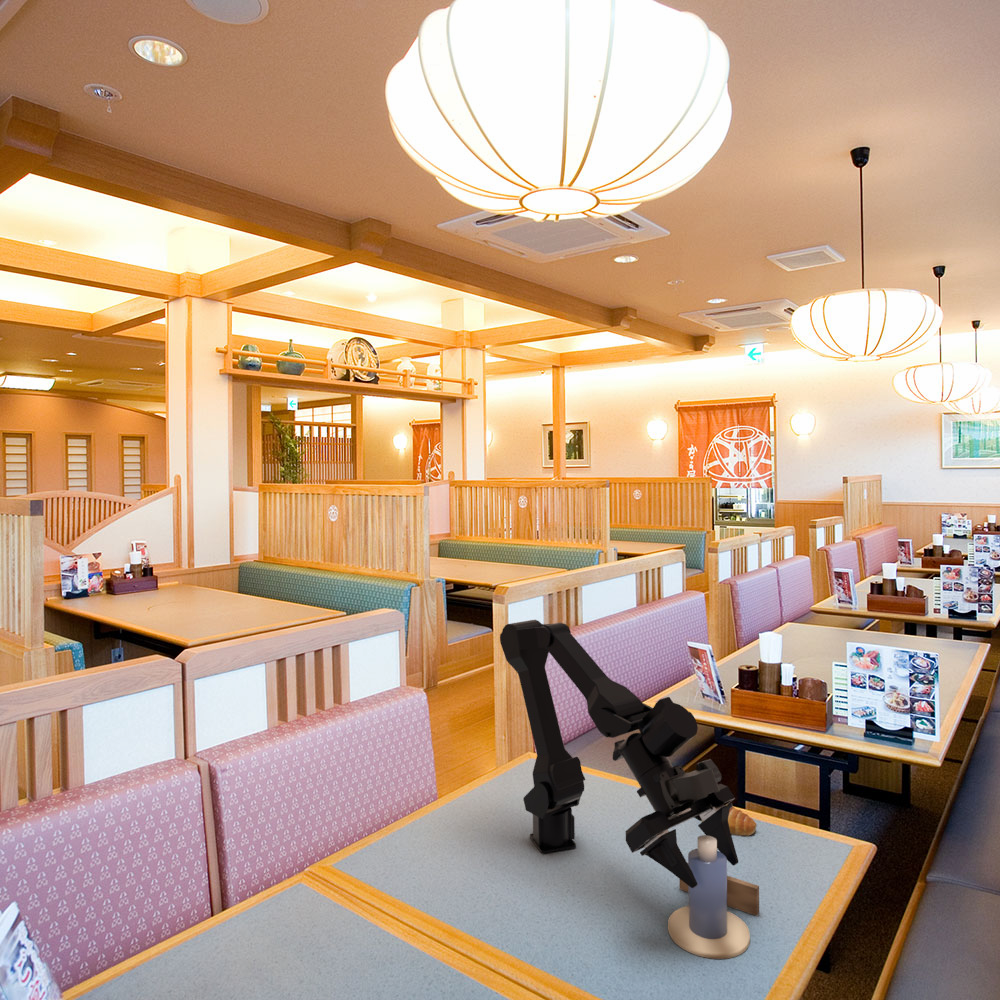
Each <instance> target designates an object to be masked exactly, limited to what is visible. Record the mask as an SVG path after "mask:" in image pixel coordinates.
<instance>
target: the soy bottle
mask: <svg viewBox="0 0 1000 1000" xmlns="http://www.w3.org/2000/svg"><path fill="white" fill-rule="evenodd" d="M687 855H688V856H687V860H688V861H687V863H688V865H689V867H690V869H691V871H692V872H693V874H694V877H695V879H696V881H697V884H698V885H697V886H696V887H694V888H691V887H690V886H689V892H688V906H689V927H690V929H691V931H692V932H693V933H695V934H696V935H698V936H700V937H703V938H707V939H719V938H722V937H724V936H725V935H726V934H727V911H728V906H727V876H728V865H727V864H728V863H727V862H728V860H727V859H726V856H725V855H724V854H722V853H721V852H720V851H719V850H718V849H717V840H716V839H715V838H714V837H712V836H708V835H705V834H702V835H699V836H698V837H697V848H694V849H691V850H690V851H689V852H688V854H687Z"/></svg>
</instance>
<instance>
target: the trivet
mask: <svg viewBox="0 0 1000 1000" xmlns="http://www.w3.org/2000/svg"><path fill="white" fill-rule="evenodd" d="M667 929H668V935H669V936H670V938H671V939H672V941H673V942H674V943H675V944H676V945H677V946H679V948H681V949H682V950H684V951H686V952H688V953H690V954H693V955H695V956H697V957H702V958H707V959H713V960H723V959H724V960H725V959H727V960H728V959H731V958H735V957H737V956H741V955H742V954H743V953H745V951H747V949H748V948H749V946H750V943H751V942H750V941H751V934H750V930H749V927H748V925H747V924H746V923H745V922H744V920H743V919H741V918H740V917H739V916H737V915H736V914H734V913H732V912H731V911H729V910H727V934H726V935H725V936H724V937H722V938H719V939H707V938H703V937H700V936H698V935H696V934H695V933H693V932H692V931H691V929H690V927H689V905H686V906H682V907H679V908H678V909H676V910H674V911H673V912H672V913H671V914H670V915H669V917H668V923H667Z"/></svg>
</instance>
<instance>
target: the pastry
mask: <svg viewBox="0 0 1000 1000" xmlns="http://www.w3.org/2000/svg"><path fill="white" fill-rule="evenodd" d="M700 822H701V823H702V822H703V821H700ZM728 823H729V828H730V832H731V835H732V834H734V835H733V836H738V835H740V837H743V836H746V837H747V836H748V837H749V836H751V835H753V834H755V832H756V829H757V825H758V824H757V822H756V821H755V820H754V819H753V818H752V817H750V815H748V814H747V813H745V812H743V811H742V810H741V809H737V808H735V807H734V806H733V805H732V808H731V809H730V811H729V816H728Z"/></svg>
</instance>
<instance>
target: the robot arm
mask: <svg viewBox="0 0 1000 1000" xmlns="http://www.w3.org/2000/svg"><path fill="white" fill-rule="evenodd" d="M499 642H500V645H501V646H500V647H501V648H502V652H503V655H504V657H505V660H506V662H507V663H508V664H509V665H510V666H511V667H512V668H513V669H514V671H516V673H517V674H518V679H519V683H520V687H521V691H522V696H523V700H524V704H525V708H526V712H527V718H528V721H529V726H530V729H531V734H532V738H533V743H534V747H535V751H536V752H535V753H536V759H535V762H534V764H533V765H534V766H533V769H532V770H533V771H532V780H533V787H532V789H530V791H528V792H527V793H526V795H524V797H523V804H524V808H525V811H527V812H528V813H530V814H531V815H532V833H530V834H529V838H530V839H531V841H532V842H533V844H534V845H535V846H536V848H537V850H539V853H541V854H546V853H547V854H548V853H552V852H553V853H554V852H559V851H563V850H564V851H566V850H570V849H575V848H577V843H576V842H575V841H574V840H575V838H576V836H575V834H576V833H575V832H576V831H575V829H576V827H575V826H576V825H575V824H576V823H575V820H576V819H575V816H574V815H573V811H572V808H573V807H578V806H579V804H580V800H581V797H582V795H583V792H585V783H584V781H586V777H585V776H584V772H583V770H582V764H581V760H580V758H579V757H578V756H574V757H573V756H572V754H570V753H569V752H568V750H567V749H566V747H565V745H564V740H563V736H562V732H561V728H560V723H559V720H558V715H557V712H556V708H555V704H554V703H555V702H554V699H553V695H552V691H551V687H550V682H549V679H548V675H547V671H546V665H547V661H548V657H549V654H550V655H551V657H552V658H553V659H554V660H555V662H556V663H557V664H558V665H559V666H560V668H561V669H562V670H563V672H564V673H565V674H566V675H567V677H568V678H569V679H570V680H571V682H572V683H573V685H575V687H576V689H578V690H579V691H580V693H581V694H582V696H583V697H584V699H585V700H586V705H587V713H588V715H589V716H590V719H591V720H592V722H593V723H594V725H595V727H596V729H597V730H598V731H599V733H600V734H601V735H603V737H605V738H612V739H614V738H616V737H617V738H618V737H619V736H623V735H626V734H629V733H632V732H634V733H632V734H630V735H629V736H628V737H627V738H626V739H621V740H617V741H615V742H614V749H613V752H612V760H613V762H614V761H618V760H621V759H624V761H625V763H626V764H627V766H628V768H629V769H630V771H631V773H632V775H633V776H634V778H635V780H636V782H637V783H638V785H639V786H640V787H639V789H637V790H636V793H637V794H638V796H639V798H642V797H646V798H647V801H648V802H649V804H650V805H651V807H652V808H653V811H654V812H652V813H649V814H647V815H645V816H642V817H641V818H639V819H638V820H637V821H636V822H635V823H634V824H632V825H631V826H630V827H629V828H628V829H626V830H625V842H626V845H627V847H628V848H629V850H630V852H631V853H633V854H634V853H635V852H638V851H640V850H641V851H640V852H639V854H640V855H641V856H647V857H649V858H650V859H651V860H652V861H654V862H656V863H657V864H658V865H661V866H662V867H663V868H665V869H666V870H668V872H670V873H672V874H673V875H674V876H676V878H678V879H681V880H682V881H683V882H684V883H686V884H687V885H688V886H690V887H691V888H694V887H696V886H697V885H698V884H697V881H696V879H695V877H694V874H693V872H692V871H691V869H690V867H689V865H688V861H687V860H686V858H685V856H684V854H683V853H682V851H681V849H680V846H678V841H677V840H678V838H677V830H676V828H674V827H676V826H679V825H681V824H682V823H683V824H684V823H685V822H687V821H689V820H691V819H696V820H698V821H699V822H701V821H703V822H701V823H699V824H698V825H697V827H698V828H699V829H700V830H701V831H702V833H704V834H703V835H708V836H712V837H714V838H715V839H716V840H717V851H719V852H721V853H722V854H724V855H725V856H726V859H727V862H728V863H730V864H731V865H732V866H735V865H737V864H739V858H738V854H737V851H736V847H735V844H734V840H733V837H732V834H731V832H730V828H729V823H728V816H729V811H730V809H731V808H732V806H733V803H732V802H733V801H734V800H735V799H736V797H735V796H734V794H733V792H732V790H730V788H729V787H728V785H725V784H722V783H719V782H721V780H722V773H721V772H720V769H719V768H718V766H717V765H716V764H715V762H714V761H713V760H712V759H705V760H703V761H700V762H698V763H696V768H695V770H693V771H690V772H685V770H684V768H683V767H682V766H680V765H679V764H676V765H675V766H673V765H672V763H671V761H670V759H669V757H672V756H673V755H675V754H676V753H677V752H679V751H680V750H681V749H682V748H683V746H685V745H686V744H687V743H688V742H689V741H691V740H692V739H693V738H694V737H695V736H696V735H697V733H698V730H699V727H698V722H697V720H696V718H695V716H694V715H693V713H692V712H691V711H689V710H688V709H686V708H685V707H684V706H683V705H680V704H679V703H676V702H674V701H673V700H672V699H671V697H670V696H666V697H662V698H660V699H658V700H657V701H656V702H655V704H654V706H653V707H652V706H650V705H648V704H645V703H643V702H642V701H641V699H640V698H639V697H638V696H637V695H635V693H634V692H632V691H631V690H630V689H629V688H628V687H626V686H625V685H622V684H620V683H618V682H616V681H613V680H612V679H611V678H610V677H609V676H607V674H606V673H605V672H604V671H603V670H602V668H601V667H600V666H599V665H598V664H597V662H595V660H594V659H593V658H592V656H591V655H589V653H588V652H587V650H585V648H584V647H583V646H582V645H581V644H580V643H579V641H578V640H577V639H576V638H575V637H574V636H573V634H572V632H571V629H570V628H569V626H568V625H567V624H566V623H563V622H556V623H541V621H539V620H537V619H530V620H525V621H519V622H518V621H517V622H511V623H507V624H505V625H504V626H503V628H502V632H501V633H500V635H499ZM638 730H639V732H636V731H638ZM672 828H674V829H672ZM670 829H672V830H670Z"/></svg>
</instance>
